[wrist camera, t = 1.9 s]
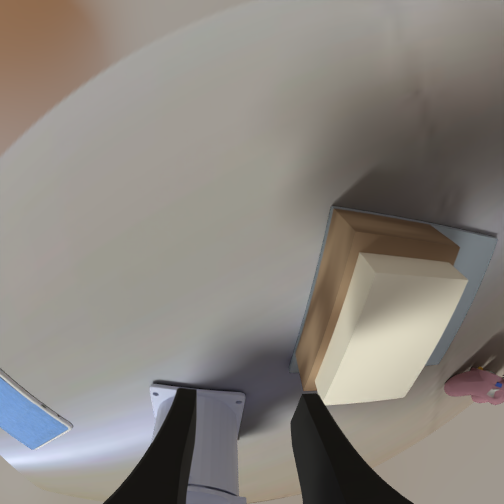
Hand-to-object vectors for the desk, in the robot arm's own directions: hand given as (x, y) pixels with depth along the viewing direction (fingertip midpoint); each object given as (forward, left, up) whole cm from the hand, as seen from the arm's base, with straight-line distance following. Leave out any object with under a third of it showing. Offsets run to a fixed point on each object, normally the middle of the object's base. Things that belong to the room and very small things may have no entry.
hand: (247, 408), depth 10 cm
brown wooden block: (0, -8, -9) cm, 12 cm away
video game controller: (-11, -28, -10) cm, 32 cm away
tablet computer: (-26, +28, -10) cm, 40 cm away
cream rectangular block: (0, -8, -5) cm, 10 cm away
